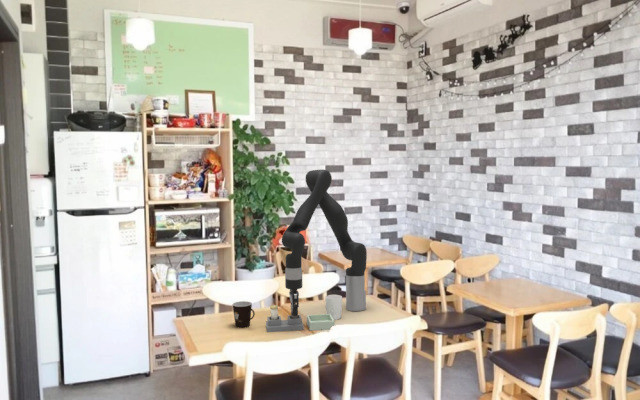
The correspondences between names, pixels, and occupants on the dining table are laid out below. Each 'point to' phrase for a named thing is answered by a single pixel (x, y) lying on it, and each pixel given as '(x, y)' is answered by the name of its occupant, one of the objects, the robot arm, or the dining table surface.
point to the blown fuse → (292, 313)
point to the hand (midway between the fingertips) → (294, 313)
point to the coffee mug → (242, 313)
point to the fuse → (274, 312)
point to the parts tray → (320, 322)
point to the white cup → (334, 306)
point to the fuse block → (284, 324)
